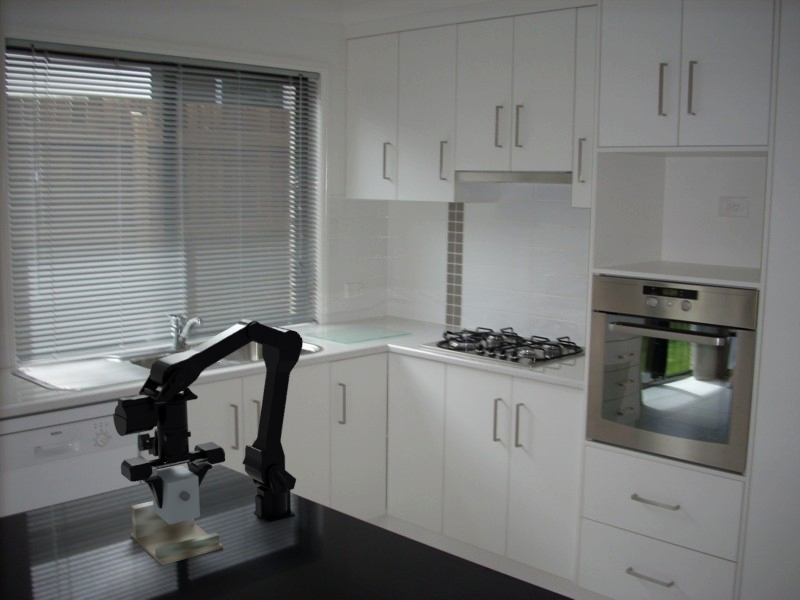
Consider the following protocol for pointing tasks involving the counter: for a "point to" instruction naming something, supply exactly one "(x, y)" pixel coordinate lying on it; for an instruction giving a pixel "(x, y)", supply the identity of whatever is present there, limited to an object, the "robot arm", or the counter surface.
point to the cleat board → (169, 536)
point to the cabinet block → (178, 495)
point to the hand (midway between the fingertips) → (176, 504)
